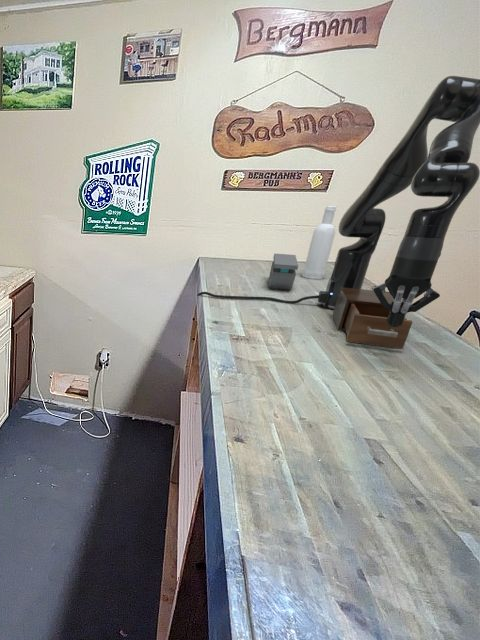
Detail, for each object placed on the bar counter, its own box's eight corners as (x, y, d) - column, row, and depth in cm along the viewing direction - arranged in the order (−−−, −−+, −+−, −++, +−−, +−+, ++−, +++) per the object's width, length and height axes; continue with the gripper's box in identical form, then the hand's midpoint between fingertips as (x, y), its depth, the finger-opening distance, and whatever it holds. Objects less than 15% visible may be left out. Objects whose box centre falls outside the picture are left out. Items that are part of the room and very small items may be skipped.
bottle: (320, 275, 205) (339, 205, 193) (325, 279, 198) (345, 207, 186) (299, 274, 207) (317, 205, 195) (304, 278, 200) (322, 206, 188)
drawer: (406, 355, 118) (417, 326, 115) (348, 347, 124) (357, 319, 121) (390, 331, 134) (399, 306, 131) (340, 325, 140) (347, 300, 137)
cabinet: (394, 337, 133) (405, 305, 129) (337, 330, 139) (347, 299, 135) (383, 321, 146) (393, 292, 142) (332, 315, 152) (340, 287, 148)
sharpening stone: (291, 293, 177) (298, 265, 173) (268, 291, 181) (274, 263, 176) (289, 280, 197) (295, 255, 193) (268, 278, 201) (274, 253, 197)
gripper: (449, 255, 106) (423, 326, 113) (379, 251, 112) (357, 318, 119) (460, 261, 100) (431, 335, 107) (384, 256, 106) (362, 326, 113)
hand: (392, 326), depth 113 cm, fingers closed
